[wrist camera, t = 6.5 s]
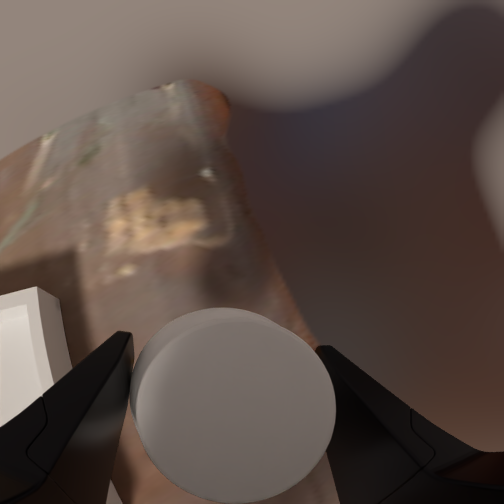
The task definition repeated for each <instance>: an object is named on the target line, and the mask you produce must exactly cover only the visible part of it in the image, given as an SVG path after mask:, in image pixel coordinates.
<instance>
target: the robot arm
mask: <svg viewBox="0 0 504 504" xmlns="http://www.w3.org/2000/svg"><path fill="white" fill-rule="evenodd" d="M315 353H316V354H317V355H318V357H319V358H320V360H321V361H322V363H323V364H324V366H325V368H326V370H327V372H328V374H329V376H330V379H331V382H332V385H333V389H334V394H335V402H336V417H335V425H334V429H333V433H332V437H331V440H330V442H329V444H328V446H327V448H326V452H327V456H328V460H329V464H330V467H331V471H332V475H333V478H334V482H335V486H336V490H337V494H338V497H339V501H340V504H504V452H484V451H480V450H477V449H474V448H473V447H471V446H469V445H467V444H465V443H464V442H462V441H460V440H459V439H457V438H455V437H454V436H452V435H450V434H449V433H447V432H445V431H444V430H442V429H441V428H439V427H437V426H436V425H434V424H433V423H431V422H430V421H429V420H427V419H426V418H424V417H423V416H422V415H420V414H419V413H418V412H416V411H415V410H414V409H412V408H411V409H410V407H409V406H408V405H407V404H406V403H404V402H403V401H402V400H400V399H399V398H398V397H396V396H395V395H394V394H392V393H391V392H390V391H389V390H387V389H386V388H385V387H383V386H382V385H381V384H380V383H378V382H377V381H376V380H374V379H373V378H372V377H371V376H369V375H368V374H367V373H365V372H364V371H363V370H361V369H360V368H359V367H358V366H356V365H355V364H354V363H353V362H351V361H350V360H349V359H347V358H346V357H345V356H344V355H342V354H341V353H340V352H339V351H337V350H336V349H335V348H333V347H332V346H330V345H320V346H318V347H317V348H316V350H315ZM133 364H134V345H133V335H132V333H131V332H125V331H117V332H116V333H115V334H113V335H112V336H111V337H110V338H109V339H107V340H106V341H105V342H104V343H102V344H101V345H100V346H99V347H98V348H96V349H95V350H94V351H93V352H92V353H90V354H89V355H88V356H87V357H86V358H84V359H83V360H82V361H81V362H80V363H79V364H77V365H76V366H75V367H74V368H73V369H71V370H70V371H69V372H68V373H67V374H65V375H64V376H63V377H62V378H61V379H60V380H58V381H57V382H56V383H55V384H54V385H53V386H51V387H50V388H49V389H48V390H47V391H46V392H44V393H43V394H42V396H40V397H38V398H37V399H36V400H35V401H34V402H33V403H31V404H30V405H29V406H28V407H27V408H25V409H24V410H23V411H22V412H20V413H19V414H18V415H16V416H15V417H14V418H12V419H11V420H9V421H8V422H7V423H5V424H4V425H2V426H1V427H0V504H106V501H107V495H108V490H109V485H110V480H111V475H112V470H113V465H114V461H115V456H116V452H117V447H118V443H119V439H120V434H121V430H122V426H123V422H124V418H125V414H126V410H127V406H128V399H129V392H130V381H131V376H132V371H133Z"/></svg>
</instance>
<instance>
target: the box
mask: <svg viewBox="0 0 504 504" xmlns="http://www.w3.org/2000/svg"><path fill="white" fill-rule="evenodd" d="M71 369H72V364H71V360H70V356H69V351H68V347H67V342H66V337H65V332H64V326H63V321H62V315H61V308H60V302H59V299H58V298H56V297H54V296H53V295H51V294H49V293H47V292H46V291H44V290H42V289H40V288H39V287H37V286H36V287H32V288H28V289H24V290H20V291H16V292H13V293H9V294H5V295H1V296H0V427H1V426H2V425H4V424H5V423H7V422H8V421H9V420H11V419H12V418H14V417H15V416H16V415H18V414H19V413H20V412H22V411H23V410H24V409H25V408H27V407H28V406H29V405H30V404H31V403H33V402H34V401H35V400H36V399H37V398H38V397H40V396H42V394H43V393H44V392H46V391H47V390H48V389H49V388H50V387H51V386H53V385H54V384H55V383H56V382H57V381H58V380H60V379H61V378H62V377H63V376H64V375H65V374H67V373H68V372H69V371H70V370H71ZM106 504H123V503H122V501H121V499H120V497H119V495H118V493H117V491H116V489H115V487H114V485H113V483H112V481H111V480H110V485H109V490H108V495H107V501H106Z"/></svg>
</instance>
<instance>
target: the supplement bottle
mask: <svg viewBox="0 0 504 504" xmlns="http://www.w3.org/2000/svg"><path fill="white" fill-rule="evenodd" d="M130 408H131V413H132V417H133V420H134V424H135V426H136V428H137V431H138V433H139V436H140V439H141V441H142V444H143V446H144V449H145V450H146V452H147V454H148V456H149V458H150V459H151V461H152V462H153V463H154V465H155V466H156V467H157V469H158V470H159V471H160V472H161V473H162V474H163V475H164V476H165V477H166V478H167V479H169V480H170V481H171V482H172V483H174V484H175V485H177V486H178V487H180V488H181V489H183V490H185V491H187V492H189V493H191V494H193V495H195V496H198V497H200V498H203V499H207V500H211V501H215V502H221V503H234V504H238V503H250V502H257V501H261V500H264V499H268V498H271V497H274V496H276V495H278V494H280V493H282V492H284V491H286V490H288V489H290V488H291V487H293V486H294V485H296V484H297V483H299V482H300V481H301V480H302V479H303V478H305V477H306V476H307V475H308V474H309V473H310V472H311V471H312V470H313V468H314V467H315V466H316V465H317V463H318V462H319V461H320V459H321V458H322V456H323V455H324V453H325V451H326V448H327V446H328V444H329V442H330V440H331V437H332V433H333V429H334V425H335V417H336V402H335V394H334V389H333V385H332V382H331V379H330V376H329V374H328V372H327V370H326V368H325V366H324V364H323V363H322V361H321V360H320V358H319V357H318V355H317V354H316V353H315V352H314V351H313V349H312V348H311V347H310V346H309V345H308V344H307V343H306V342H305V341H304V340H302V339H301V338H300V337H298V336H297V335H295V334H294V333H292V332H291V331H289V330H287V329H286V328H283V327H281V326H279V325H278V324H276V323H275V322H273V321H271V320H270V319H268V318H266V317H264V316H261V315H259V314H256V313H253V312H250V311H246V310H242V309H236V308H209V309H203V310H198V311H195V312H191V313H188V314H185V315H183V316H181V317H179V318H176V319H175V320H173V321H171V322H170V323H168V324H167V325H165V326H164V327H163V328H161V329H160V330H159V331H158V332H157V333H156V334H155V335H154V336H153V337H152V338H151V339H150V340H149V341H148V343H147V344H146V345H145V347H144V348H143V350H142V351H141V353H140V355H139V357H138V359H137V362H136V364H135V367H134V369H133V372H132V376H131V381H130Z"/></svg>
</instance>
